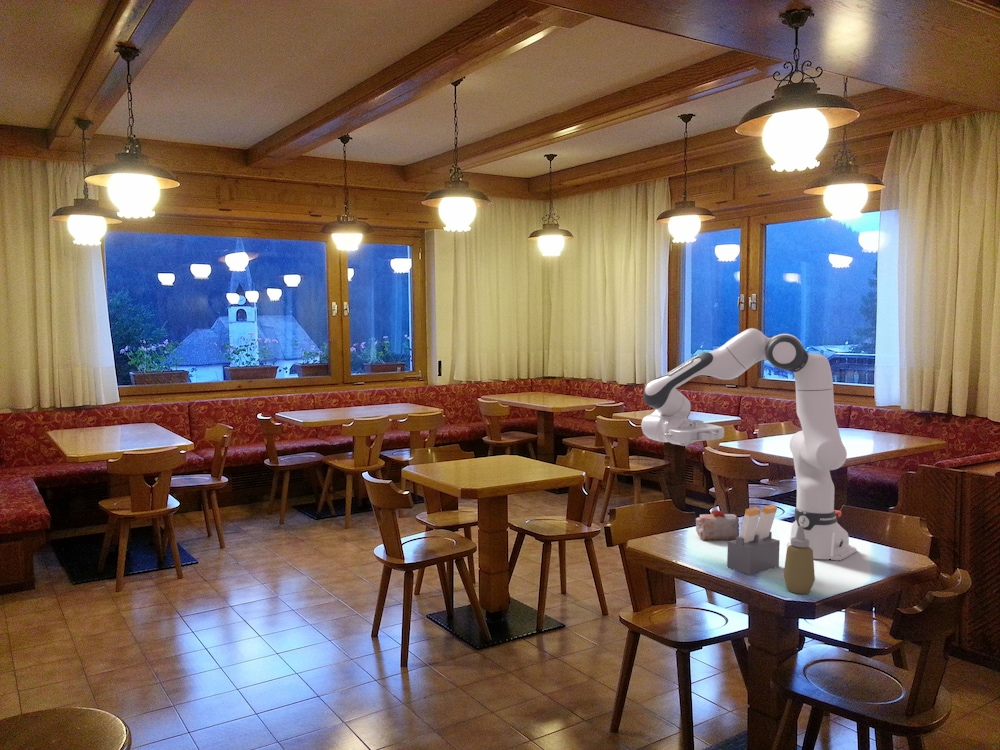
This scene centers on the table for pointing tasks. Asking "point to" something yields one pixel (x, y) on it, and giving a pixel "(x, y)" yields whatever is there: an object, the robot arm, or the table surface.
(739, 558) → the grey holder block
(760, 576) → the table surface
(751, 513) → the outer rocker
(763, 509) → the orange-tipped white bar
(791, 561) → the squeeze bottle
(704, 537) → the food item
